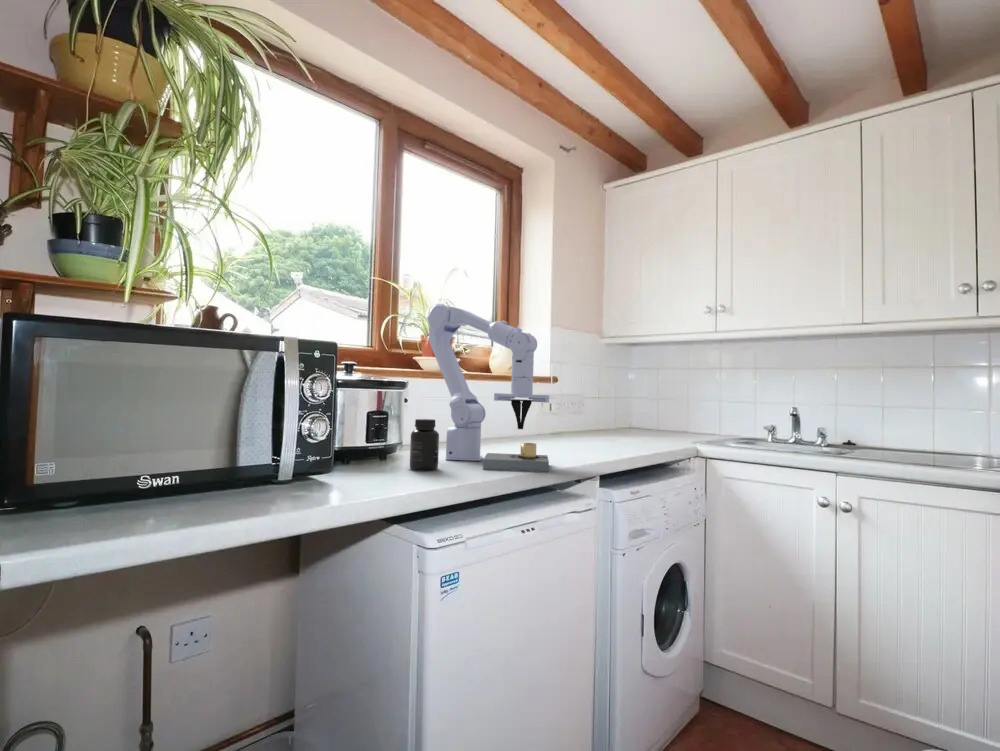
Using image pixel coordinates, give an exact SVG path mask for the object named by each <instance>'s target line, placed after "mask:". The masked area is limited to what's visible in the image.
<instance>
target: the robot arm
mask: <svg viewBox="0 0 1000 751" xmlns="http://www.w3.org/2000/svg"><path fill="white" fill-rule="evenodd" d="M426 319H427V323H428V330H429V331H428V333H429V334H428V341H429V344H430V345H429V346H430V348H431V350H432V352H433V354H434V356H435V359H436V362H437V365H438V367H439V370H440V372H441V375H442V377H443V379H444V381H445V384H446V386H447V389H448V392H449V394H450V396H451V398H450V400H449V404H448V405H449V407H450V418H451V420H452V422H453V423H454V426H448V427H447V431H446V442H445V444H446V446H445V448H446V449H445V460H447V461H448V460H450V461H475V462H476V461H477V462H478V461H479V462H481V460H483V458H484V456H483V455H481V443H482V441H481V440H482V423H483V421H484V420H485V418H486V416H487V414H486V409H485V407H484V405H482V403H481V402H479V400H478V398H477V396H476V395H475V394H474V393H472V391H471V390H470V388H469V385H468V383H467V381H466V377H465V375H464V374H463V371H462V369H461V366H460V364H459V362H458V359H457V356H456V354H455V351H454V349H453V347H452V345H451V339H452V337H454V335H455V334H456V333H457V332H458V330H459V329H460V328H461V327H465V326H469V327H472V328H474V329H476V330H478V331H481V332H484V333H485V334H487V336H488V339H489V340H490V341H491V342H494V343H496V344H498V345H500V346H503V347H505V348H507V349H508V350H510V351H511V352H512V359H511V383H510V384H511V385H510V386H511V387H510V388H511V389H510V393H498V392H497V393H496V392H495V393H493V394H494V395H493V400H494V402H495V401H496V402H497V401H498V402H499V401H501V402H504V401H506V402H511V403H510V405H511V406H512V410H513V412H514V416H515V419H516V422H517V430H524V426H525V422H526V418H527V414H528V412H529V410H530V407H531V406H532V403H550V395H549V394H533V388H534V386H533V384H534V362H535V361H534V358H535V357H534V356H535V355H534V354H535V351H537V347H538V341H537V340H538V339H536V337H535V336H534V335H532V334H531V333H530V332H529V333H528V332H523V329H522V328H520V327H517V328H516V327H514V326H512V325H510V324H509V323H508V321H506V320H501V321H500V320H496V321H494V322H491V321H489V320H487V319H485V318H483V317H481V316H479V315H477V314H475V313H473V312H471V311H468V310H465V309H461V308H458V307H453V306H450V305H446V304H444V303H436V304H434V305H432V307H431V308H430V311H429V312H428V314H427V316H426ZM508 324H509V325H508ZM515 398H518V399H515ZM519 398H523V399H519Z"/></svg>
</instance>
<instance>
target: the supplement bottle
mask: <svg viewBox="0 0 1000 751" xmlns="http://www.w3.org/2000/svg"><path fill="white" fill-rule="evenodd" d="M414 420H415V421H414V422H415V424H414V428H415V429H414V430H413V431H411V433H410V446H409V447H410V448H409V468H410V470H412V471H418V472H430V471H432V472H433V471H436V470H438V468H439V453H440V452H439V449H440V447H439V446H440V445H439V444H440V434H439V432H438V431H437V430H436V429H435V428H436V427H437V426H436V419H431V418H417V419H414Z"/></svg>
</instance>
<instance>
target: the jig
mask: <svg viewBox="0 0 1000 751" xmlns="http://www.w3.org/2000/svg"><path fill="white" fill-rule="evenodd" d="M520 456H521V453H499V452H497V453H494V452H487V453H486V454H485V456H483V458H482V462H483V463H482V470H485V471H489V470H490V471H491V470H492V471H511V470H518V471H517V472H537V471H540V472H539V473H542V472H543V473H549V470H550V468H549V466H550V465H549V464H550V461H549V460H550V459H549V457H548V455H547V454H536V458H535V459H528V458H520Z"/></svg>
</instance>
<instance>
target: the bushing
mask: <svg viewBox="0 0 1000 751" xmlns="http://www.w3.org/2000/svg"><path fill="white" fill-rule="evenodd" d="M520 454H521V456H520V458H528V459H535V458H536V455H537V443H535V442H521V443H520Z"/></svg>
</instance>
